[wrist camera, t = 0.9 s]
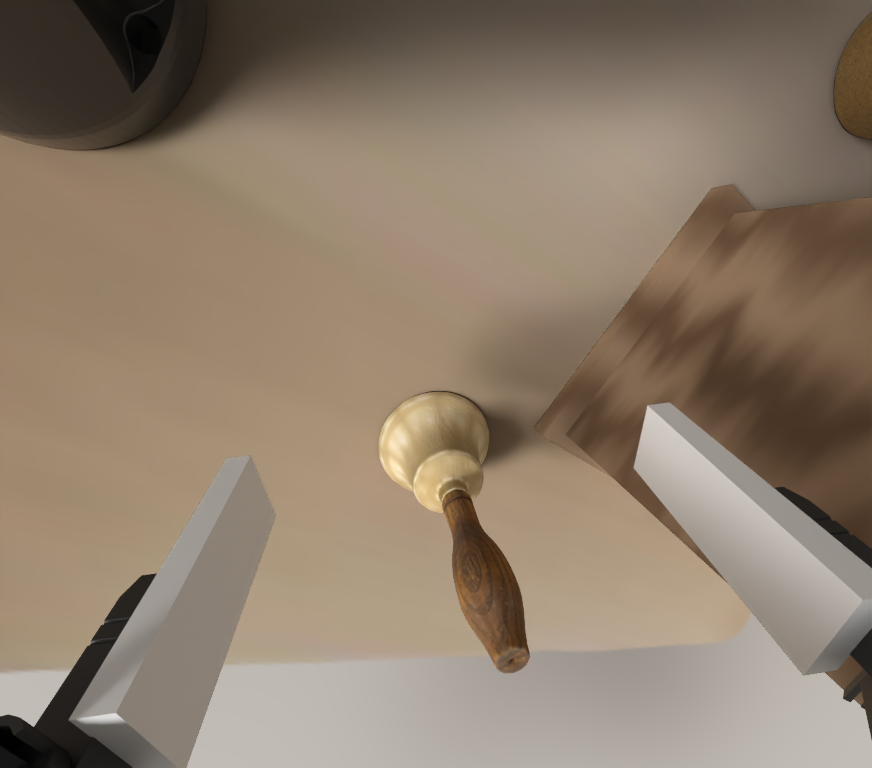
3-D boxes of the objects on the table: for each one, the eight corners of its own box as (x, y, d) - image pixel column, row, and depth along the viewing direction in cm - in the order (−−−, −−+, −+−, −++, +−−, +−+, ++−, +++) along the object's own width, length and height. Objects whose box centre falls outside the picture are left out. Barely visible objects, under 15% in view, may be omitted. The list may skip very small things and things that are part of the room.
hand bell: (505, 409, 28) (660, 584, 13) (464, 501, 30) (557, 744, 15) (400, 376, 26) (440, 541, 11) (363, 477, 28) (354, 734, 13)
